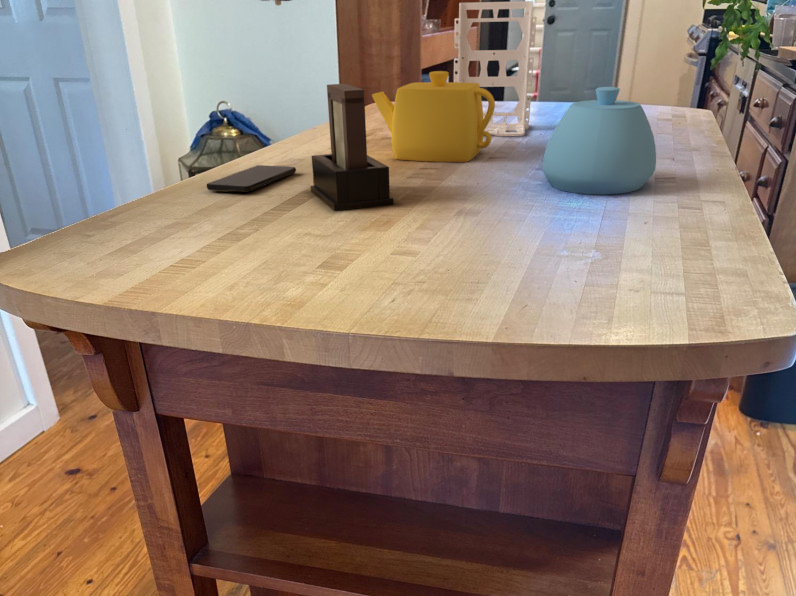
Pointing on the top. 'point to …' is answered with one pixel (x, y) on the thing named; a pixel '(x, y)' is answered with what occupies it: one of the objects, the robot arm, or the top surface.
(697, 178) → the top surface
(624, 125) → the sugar bowl
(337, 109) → the frame
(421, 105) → the teapot
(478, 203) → the top surface
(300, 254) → the top surface
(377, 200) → the holder
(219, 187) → the smartphone
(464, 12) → the white perforated rack
